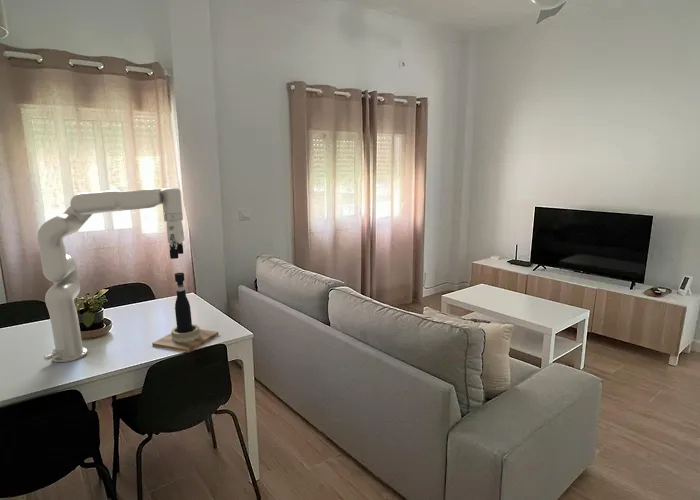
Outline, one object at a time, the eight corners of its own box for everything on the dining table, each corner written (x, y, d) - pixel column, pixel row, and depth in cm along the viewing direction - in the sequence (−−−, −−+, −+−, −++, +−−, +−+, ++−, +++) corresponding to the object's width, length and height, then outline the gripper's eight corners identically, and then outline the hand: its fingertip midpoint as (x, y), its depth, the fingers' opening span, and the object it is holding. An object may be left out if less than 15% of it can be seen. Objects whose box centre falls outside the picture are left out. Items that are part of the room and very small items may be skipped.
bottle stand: (188, 352, 185) (187, 340, 184) (152, 346, 192) (151, 334, 191) (218, 334, 203) (217, 323, 202) (184, 329, 210) (183, 319, 209)
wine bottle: (190, 340, 194) (183, 275, 188) (175, 340, 194) (168, 275, 188) (195, 334, 200) (189, 271, 194) (181, 334, 200) (174, 271, 194)
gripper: (178, 219, 178) (181, 260, 182) (186, 214, 195) (190, 251, 198) (158, 220, 177) (162, 260, 181) (169, 214, 194) (172, 252, 197)
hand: (177, 256), depth 189 cm, fingers open, 9 cm apart
